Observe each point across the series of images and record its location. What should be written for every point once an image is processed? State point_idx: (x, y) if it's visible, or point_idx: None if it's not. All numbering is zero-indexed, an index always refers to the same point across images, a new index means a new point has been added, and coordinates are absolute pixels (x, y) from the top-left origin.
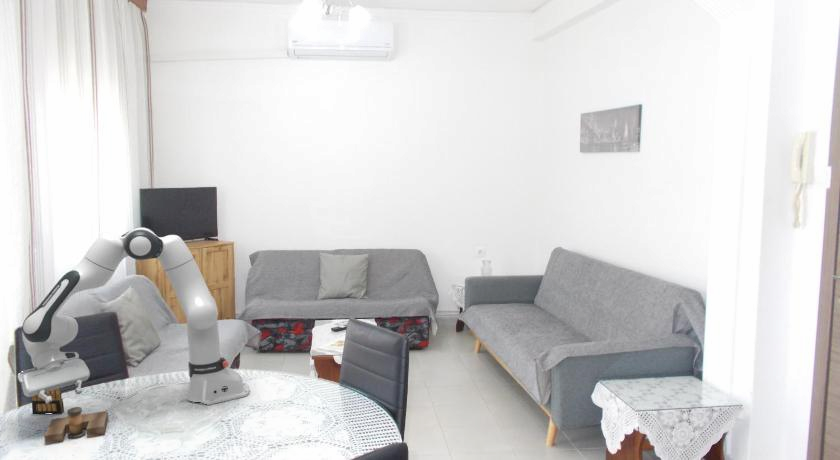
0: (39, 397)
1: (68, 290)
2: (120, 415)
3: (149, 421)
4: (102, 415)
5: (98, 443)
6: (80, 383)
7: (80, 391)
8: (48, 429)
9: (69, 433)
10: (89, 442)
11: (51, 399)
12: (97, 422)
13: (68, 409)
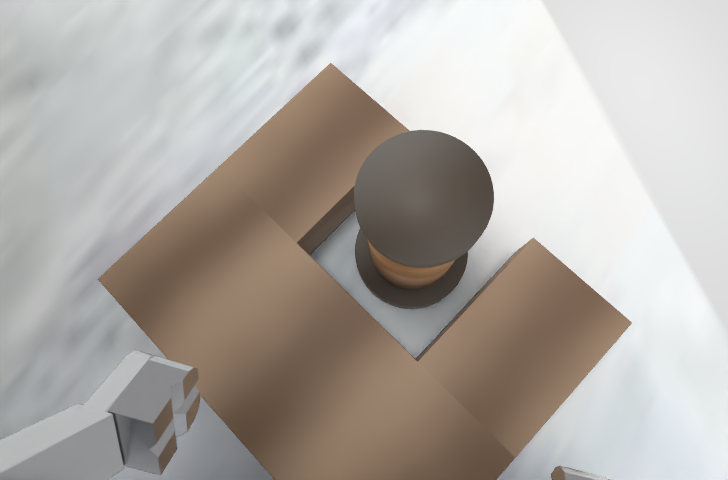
0: None
1: None
2: (62, 257)
3: (99, 12)
4: (184, 234)
5: (433, 34)
6: (13, 445)
7: (155, 356)
8: (540, 412)
9: (432, 297)
10: (446, 92)
11: (574, 476)
12: (296, 157)
13: (449, 254)
